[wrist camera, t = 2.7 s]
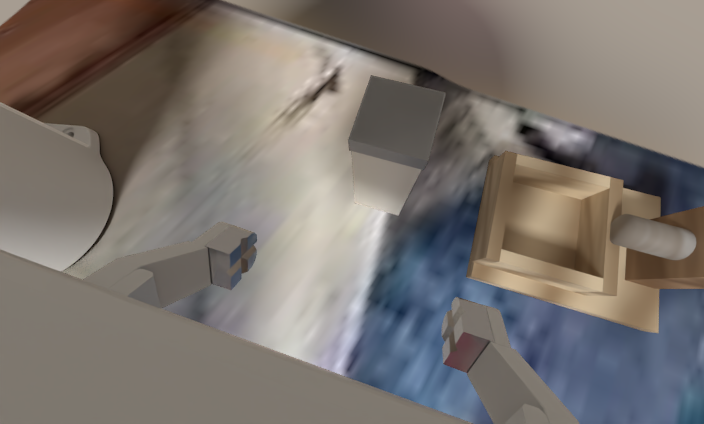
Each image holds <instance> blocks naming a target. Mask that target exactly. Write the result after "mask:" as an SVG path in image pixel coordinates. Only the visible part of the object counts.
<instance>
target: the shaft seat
mask: <svg viewBox="0 0 704 424" xmlns="http://www.w3.org/2000/svg"><path fill="white" fill-rule="evenodd" d="M660 212H661V197H657V196H653V195H649V194H645V193H641V192H637V191H633V190H629V189H625V188H623V180H620V179H616V178H612V177H608V176H604V175H600V174H596V173H592V172H588V171H584V170H580V169H576V168H572V167H568V166H564V165H560V164H556V163H552V162H548V161H544V160H540V159H536V158H532V157H528V156H524V155H520V154H516V153H512V152H508V151H505V152H504V153H503V154H502V155H501V156H500V157H499V156H495V155H494V156H493V157H492V158H491V159H490V160H489V164H488V169H487V174H486V179H485V184H484V189H483V194H482V199H481V204H480V209H479V214H478V220H477V225H476V230H475V235H474V240H473V245H472V250H471V255H470V260H469V265H468V270H467V275H466V277H468V278H471V279H474V280H477V281H481V282H484V283H487V284H491V285H494V286H497V287H500V288H504V289H507V290H510V291H514V292H517V293H520V294H524V295H527V296H530V297H533V298H537V299H540V300H543V301H547V302H550V303H553V304H556V305H560V306H563V307H566V308H570V309H573V310H576V311H579V312H583V313H586V314H589V315H593V316H596V317H599V318H602V319H606V320H609V321H612V322H616V323H619V324H622V325H625V326H629V327H632V328H635V329H639V330H642V331H647V332H654V333H658V325H659V289H704V206H703V207H699V208H695V209H691V210H687V211H682V212H678V213H674V214H670V215H666V216H662V217H660Z"/></svg>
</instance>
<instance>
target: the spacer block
mask: <svg viewBox="0 0 704 424" xmlns="http://www.w3.org/2000/svg"><path fill="white" fill-rule="evenodd" d="M445 95H446V93H445V92H441V91H437V90H432V89H428V88H424V87H419V86H415V85H411V84H407V83H402V82H398V81H394V80H389V79H385V78H381V77H376V76H372V75H371V77H370V80H369V83H368V85H367V88H366V91H365V94H364V97H363V100H362V103H361V105H360V108H359V111H358V114H357V117H356V120H355V122H354V125H353V128H352V131H351V134H350V137H349V140H348V142H349V150H350V151H351V153H352V168H353V183H354V198H355V203H356V204H360V205H363V206H366V207H370V208H373V209H377V210H380V211H384V212H387V213H391V214H394V215H399V213H400V211H401V209H402V207H403V205H404V203H405V201H406V199H407V197H408V195H409V194H410V192H411V190H412V188H413V186H414V184H415V182H416V180H417V178H418V176H419V174H420V172H421V170H424V168H425V167H426V165H427V163H428V161H429V157H430V153H431V149H432V145H433V141H434V138H435V134H436V130H437V126H438V122H439V118H440V114H441V111H442V107H443V103H444V99H445Z"/></svg>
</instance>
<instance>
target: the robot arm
mask: <svg viewBox="0 0 704 424" xmlns="http://www.w3.org/2000/svg"><path fill="white" fill-rule="evenodd" d="M112 201H113V184H112V179H111V176H110V173H109V171H108V169H107V167H106V165H105V164H104V162H103V160H102V158H101V156H100V143H99V136H98V134H97V132H95V131H94V130H91V129H89V128H87V127H85V126H76V125H63V124H51V123H42V122H40V121H38V120H36V119H34V118H32V117H30V116H28V115H26V114H24V113H22V112H20V111H18V110H15V109H13V108H11V107H9V106H7V105H5V104H3V103H1V102H0V424H473V423H470V422H467V421H465V420H462V419H459V418H457V417H454V416H451V415H448V414H446V413H443V412H440V411H438V410H435V409H432V408H429V407H427V406H424V405H421V404H419V403H416V402H413V401H410V400H408V399H405V398H402V397H400V396H397V395H394V394H391V393H389V392H386V391H383V390H380V389H378V388H375V387H372V386H370V385H367V384H364V383H361V382H359V381H356V380H353V379H351V378H348V377H345V376H342V375H340V374H337V373H334V372H332V371H329V370H326V369H323V368H321V367H318V366H315V365H313V364H310V363H307V362H304V361H302V360H299V359H296V358H294V357H291V356H288V355H286V354H283V353H280V352H277V351H275V350H272V349H269V348H267V347H264V346H261V345H258V344H256V343H253V342H250V341H248V340H245V339H242V338H239V337H237V336H234V335H231V334H229V333H226V332H223V331H220V330H218V329H215V328H212V327H210V326H207V325H204V324H201V323H199V322H196V321H193V320H191V319H188V318H185V317H182V316H180V315H177V314H174V313H172V312H169V311H166V310H163V309H161V308H163V307H166V306H168V305H170V304H172V303H174V302H176V301H178V300H180V299H182V298H185V297H187V296H189V295H191V294H193V293H195V292H197V291H199V290H202V289H204V288H206V287H208V286H210V285H211V284H213V285H216V286H220V287H223V288H226V289H229V290H232V289H233V288H234V286H235V285H236V284H237V283H238V282H239V281H240V280H241V274H242V273H245V272H247V271H249V269H250V268H251V267H252V265H253V263H254V261H255V259H256V253H257V250H256V248H255V246H254V244H255V243H256V242H257V235H256V234H255V233H254V232H251V231H248V230H245V229H243V228H240V227H237V226H234V225H230V224H227V223H224V222H219V223H217V224H216V225H214V226H213V227H212V228H210V229H209V230H208V231H206V232H205V233H204V234H202V235H201V236H200V237H198V238H197V239H196V240H194V241H193V242H189V241H187V242H183V243H179V244H175V245H170V246H166V247H162V248H158V249H154V250H150V251H146V252H142V253H138V254H133V255H129V256H125V257H121V258H117V259H115V260H114V261H112V262H111V263H109V264H107V265H106V266H104V267H102V268H101V269H99V270H98V271H96V272H94V273H93V274H91V275H90V276H88V277H86V278H85V279H83V280H82V279H79V278H77V277H74V276H71V275H68V274H66V273H63V272H61V271H63V270H65V269H66V268H68V267H69V266H71V265H72V264H73V263H75V262H76V261H77V260H78V259H79V258H80V257H82V256H83V255H84V254H85V253H86V252H87V251H88V250H89V248H90V247H91V246H92V245H93V244H94V242H95V241H96V240H97V238H98V237H99V235H100V233H101V232H102V230H103V228H104V226H105V224H106V222H107V220H108V217H109V214H110V211H111V207H112ZM442 338H443V339H444V341H445V344H444V345H443V347H442V350H443V364H445V365H447V366H450V367H453V368H455V369H458V370H461V371H463V372H466V373H467V375H468V377H469V379H470V381H471V383H472V385H473V386H474V388H475V390H476V392H477V394H478V395H479V397H480V399H481V401H482V403H483V405H484V406H485V408H486V410H487V412H488V414H489V415H490V417H491V419H492V421H493V423H494V424H579V422H578V420H577V419H576V418H575V417H574V416H573V415H572V414H571V413H570V411H569V410H568V409H567V408H566V407H565V406H564V405H563V403H562V402H561V401H560V400H559V399H558V398H557V397H556V395H555V394H554V393H553V392H552V391H551V390H550V389H549V387H548V386H547V385H546V384H545V383H544V382H543V381H542V379H541V378H540V377H539V376H538V375H537V374H536V373H535V371H534V370H533V369H532V368H531V367H530V366H529V365H528V363H527V362H526V361H525V360H524V359H523V358H522V357H521V355H520V354H519V353H518V352H517V351H516V350H515V349H512V348H511V346H510V343H509V339H508V336H507V333H506V329H505V326H504V323H503V319H502V316H501V313H500V311H499V310H498V309H495V308H492V307H488V306H485V305H481V304H478V303H474V302H471V301H468V300H465V299H462V298H458V297H456V298H455V299H454V300H453V302H452V310H450V311H448V312H447V313H446V315H445V317H444V320H443V324H442Z"/></svg>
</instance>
